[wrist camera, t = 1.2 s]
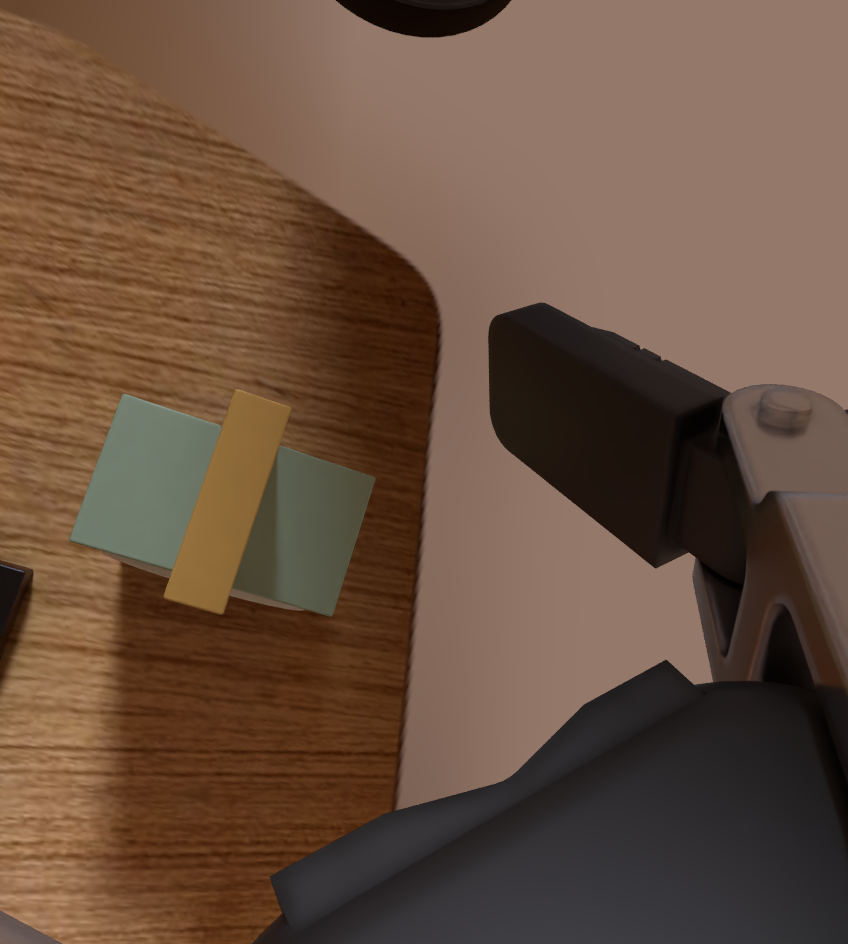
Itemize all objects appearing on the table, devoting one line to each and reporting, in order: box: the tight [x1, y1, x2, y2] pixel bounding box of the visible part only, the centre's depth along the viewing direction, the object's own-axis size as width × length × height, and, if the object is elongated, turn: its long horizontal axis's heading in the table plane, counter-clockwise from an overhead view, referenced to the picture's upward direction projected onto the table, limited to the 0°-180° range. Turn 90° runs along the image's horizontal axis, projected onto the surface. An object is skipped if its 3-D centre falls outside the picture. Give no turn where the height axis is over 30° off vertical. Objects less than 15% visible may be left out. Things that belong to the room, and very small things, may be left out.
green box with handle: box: [69, 389, 375, 617], centre depth 23 cm, size 5×7×15 cm, turn 73°
